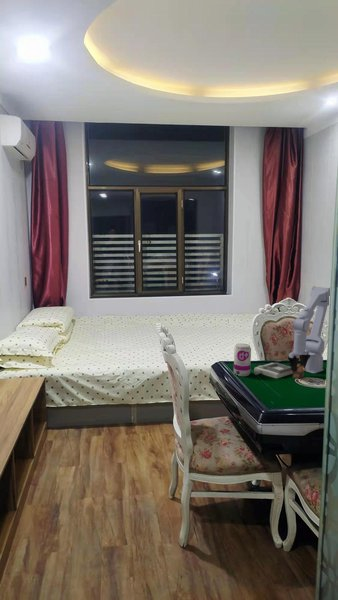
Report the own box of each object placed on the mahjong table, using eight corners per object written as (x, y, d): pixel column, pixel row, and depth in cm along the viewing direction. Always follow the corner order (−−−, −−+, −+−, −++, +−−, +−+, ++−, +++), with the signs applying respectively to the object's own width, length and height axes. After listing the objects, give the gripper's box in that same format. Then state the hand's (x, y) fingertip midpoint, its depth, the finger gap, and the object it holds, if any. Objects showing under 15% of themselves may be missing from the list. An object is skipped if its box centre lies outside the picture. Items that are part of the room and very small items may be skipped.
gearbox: (272, 366, 228) (272, 360, 228) (294, 372, 217) (295, 366, 217) (249, 372, 216) (249, 366, 216) (271, 380, 205) (271, 373, 205)
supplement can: (249, 377, 209) (251, 347, 207) (233, 376, 211) (234, 346, 209) (250, 372, 217) (251, 343, 215) (233, 371, 219) (234, 342, 217)
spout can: (296, 374, 214) (297, 363, 213) (307, 378, 209) (308, 366, 208) (290, 376, 211) (291, 365, 210) (301, 380, 206) (302, 368, 205)
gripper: (298, 346, 200) (296, 374, 202) (315, 342, 210) (313, 369, 211) (285, 343, 206) (284, 370, 208) (303, 339, 215) (301, 365, 217)
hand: (298, 369), depth 210 cm, fingers open, 7 cm apart
